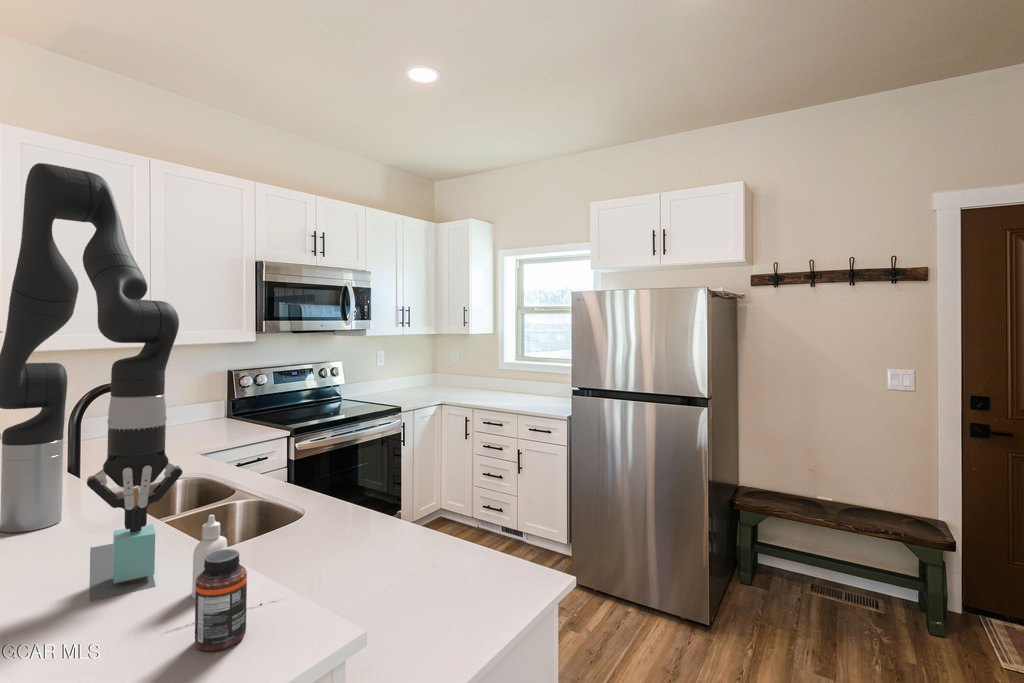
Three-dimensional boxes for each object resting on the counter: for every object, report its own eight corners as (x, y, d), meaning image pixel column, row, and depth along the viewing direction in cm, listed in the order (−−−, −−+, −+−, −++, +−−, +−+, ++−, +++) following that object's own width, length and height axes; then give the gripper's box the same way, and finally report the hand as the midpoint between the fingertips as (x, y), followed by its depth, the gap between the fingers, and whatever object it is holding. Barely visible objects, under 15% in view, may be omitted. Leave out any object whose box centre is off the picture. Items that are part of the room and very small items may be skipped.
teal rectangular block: (112, 571, 83) (113, 530, 83) (151, 562, 86) (152, 523, 86) (113, 583, 79) (114, 540, 79) (154, 574, 82) (155, 533, 82)
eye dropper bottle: (235, 588, 81) (237, 513, 81) (198, 604, 76) (200, 523, 76) (220, 581, 83) (221, 507, 83) (183, 595, 78) (185, 517, 78)
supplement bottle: (208, 627, 70) (210, 545, 70) (253, 626, 71) (255, 545, 71) (184, 654, 64) (186, 564, 64) (233, 653, 65) (235, 564, 65)
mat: (90, 549, 94) (90, 547, 94) (144, 539, 99) (144, 537, 99) (89, 604, 75) (89, 601, 75) (155, 588, 80) (155, 586, 80)
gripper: (183, 416, 89) (180, 515, 90) (84, 423, 81) (82, 532, 81) (189, 423, 84) (186, 528, 84) (83, 430, 75) (81, 547, 75)
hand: (135, 530), depth 82 cm, fingers closed
